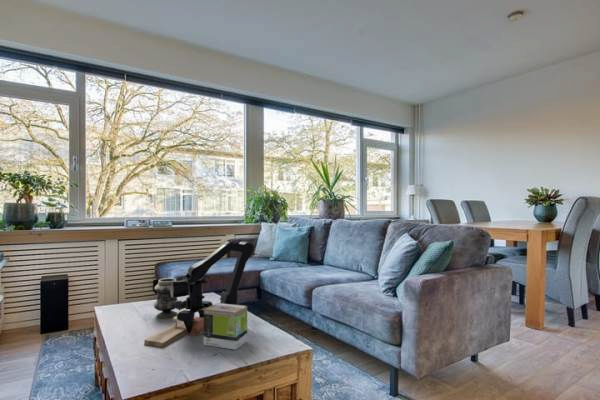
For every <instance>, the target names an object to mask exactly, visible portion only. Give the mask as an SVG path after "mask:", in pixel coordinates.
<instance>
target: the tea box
mask: <svg viewBox="0 0 600 400" xmlns="http://www.w3.org/2000/svg"><path fill="white" fill-rule="evenodd" d="M247 342H248V305H243V304H242V305H241V304H237V305H233V304H223V303H220V302H216V303H214V304H213V305H212V306H209V307H207V308H205V309H204V332H203V345H204V346H209V347H210V346H211V347H215V348H216V347H217V348H222V349H228V350H238V349H239V348H240V347H242V345H244V344H245V343H247Z"/></svg>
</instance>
